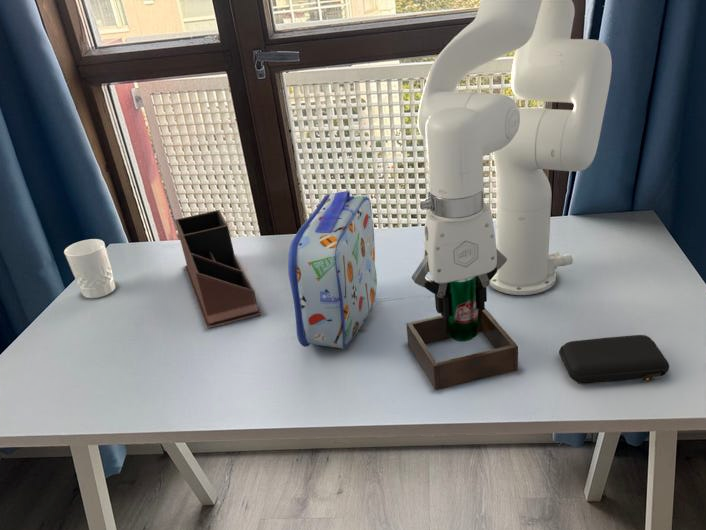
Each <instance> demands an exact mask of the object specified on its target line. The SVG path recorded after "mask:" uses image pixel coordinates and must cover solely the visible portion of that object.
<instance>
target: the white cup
mask: <svg viewBox="0 0 706 530" xmlns="http://www.w3.org/2000/svg"><path fill="white" fill-rule="evenodd" d="M63 254H64V256H65V258H66V261H67V263H68V265H69V268H70V270H71V273H72V275H73V277H74V280H75V281H76V284H77V285H78V287H79V290H80V292H81V295H82V296H83V297H84V298H86V299H99V298H103V297H105V296H107V295H109V294H112V293H113V292H114V291H115V290H116V283H115V279H114V273H113V270H112V265H111V262H110V258H109V254H108V251H107V247H106V244H105V241H103V240H102V239H99V238H90V239H84V240H80V241H77V242H74V243H72V244H70V245H68V246H67V247H66V248H65V249H64V251H63Z"/></svg>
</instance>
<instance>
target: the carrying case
mask: <svg viewBox="0 0 706 530" xmlns="http://www.w3.org/2000/svg"><path fill="white" fill-rule="evenodd" d="M558 350H559V351H558V354H559V356H560V357H559V358H560V359H561V361H562V363H563V365H564V368H565V371H566V372H567V375H568V377H569V378H570V379H572V380H573V381H574V382H575V383H577V384H579V385H589V384H590V385H591V384H604V383H615V382H625V381H627V382H628V381H637V380H642V382H643V383H646V382H651V381H653V380H656V379H661V378H662V377H663V376H665V375H666V374H667V373H668V372H669V371H670V364H669V361H668V360H667V359H666V357H665V355H664V354H663V353H662V351H661V350H660V348H659V347H658V345H657V344H656V342H655V341H654V339H652V338H651V337H650V336H648V335H647V334H634V335H633V334H632V335H622V336H610V337H600V338H589V339H581V340H571V341H568V342H566V343H564V344H563V345H562V346H561V347H560V348H559V349H558Z"/></svg>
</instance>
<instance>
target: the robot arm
mask: <svg viewBox="0 0 706 530" xmlns="http://www.w3.org/2000/svg"><path fill="white" fill-rule="evenodd" d="M477 9H478V10H477V13H476V16H475V17H474V19H473V20H472V21H471V22H470V23H469V24H468V25H466V27H464V28H463V29H462V30H461V31H460V32H459V33H457V35H455V36H454V37H453V38H452V39H451V40H450V41H449V43H447V45H446V46H445V47H444V48H443V49H442V50H441V51H440V53H439V54H438V55H437V56H436V58H435V59H434V61H433V63H432V65H431V66H430V69H429V71H428V74H427V77H426V80H425V82H424V83H425V84H424V86H423V91H422V94H421V98H420V102H419V107H418V112H417V129H418V132H419V135H420V137H421V138H422V139H423V141H425V143H426V155H427V157H426V158H427V173H428V174H427V175H428V188H429V191H427V194H428V195H427V198H425V199H423V200H420V204H419V205H420V209H421V210H422V211H425V210H426V216H425V222H424V230H423V259H422V260H421V262H420V263H419V265H418V267H417V268H416V270H415V271H414V272H413V274H412V276H411V279H412V281H413V282H414V283H415V284H416V285H418V286H420V287H422V288H425V289H426V290H427V291H429V292H430V293H432V294H433V295H434V302H435V303H434V304H435V311H436V312H437V314H440V316H441V315H442V316H443V318H444V319H445V320H446V319H449V298H448V296H447V295H446V288H447V284H448V282H453V281H457V280H462V279H466V278H470V277H474V276H477V295H478V309H479V310H481V311H483V310H485V308H486V306H485V303H487V301H488V295H487V294H488V291H487V288H488V287H489V286H490V287H491V288H493V290H496V291H498V292H500V293H502V294H508V295H512V296H531V295H537V294H540V293H543V292H546V291H547V290H549V289H551V288H552V287H553V286H554V285H555V284H556V282H557V272H556V271H555V270H558V267H565V266H568V265H572V264H573V262H574V260H573V256H572V255H571V253H568V254H564V255H560V252H559V251H554V252H550V237H551V235H550V234H551V233H550V232H551V215H552V214H551V213H552V194H553V193H552V187H551V183H550V181H549V179H548V176H547V175H546V173H545V172H544V170H550V171H561V172H582V171H585V170H586V169H588V168H589V167H590V166H591V165H592V164H593V162H594V160H595V157H596V154H597V150H598V146H599V142H600V137H601V132H602V127H603V121H604V116H605V111H606V105H607V101H608V95H609V90H610V86H611V80H612V79H611V78H612V71H613V70H612V69H613V67H612V66H613V60H612V53H611V51H610V47H608V45H607V44H606V43H605V42H603V41H601V40H598V39H589V38H571V36H572V31H573V25H574V18H575V14H576V11H575V10H576V9H575V5H574V2H573V0H480V2H479V6H478V8H477ZM512 52H514V55H513V61H512V67H511V73H510V75H511V76H510V87H511V91H512V93H513V94H514V96H516V97H517V98H519V99H521V100H525V101H531V102H544V103H545V102H547V103H568V104H572V105H573V109H558V108H557V109H553V108H542V107H519V106H518V104H517V102H516V101H515V100H514V98H513V97H511V96H508V95H506V94H502V93H494V92H493V93H491V92H476V91H475V92H474V91H456V89H457V87H458V85H459V84H460V83H461V82H462V80H463V79H464V78H465V77H467V76H468V75H469V74H470V73H471V72H473V71H474V70H477V69H478V68H480V67H481V66H483V65H486V64H488V63H490V62H493V61H495V60H497V59H499V58H502V57H504V56H506V55H508V54H510V53H512ZM489 154H492V157H493V163H494V171H495V184H496V185H495V186H496V187H495V188H496V193H495V194H496V197H495V198H496V200H495V201H496V202H495V205H496V206H495V209H496V213H495V217H496V218H495V227H494V220H493V214H492V211H491V207H490V206H489V204H486V203H485V194H484V193H485V190H484V187H485V186H484V157H485V156H487V155H489ZM428 273H429V275H430V277H429V278H428V277H426V276H427V275H428ZM430 278H431V279H430Z"/></svg>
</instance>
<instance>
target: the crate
mask: <svg viewBox="0 0 706 530" xmlns="http://www.w3.org/2000/svg"><path fill="white" fill-rule="evenodd" d="M405 325H406V337H407V346H408V348H409V350H410V352H411V353H412V355H413V356H414V358H415V360H416V361H417V363H418V365H419V366H420V368H421V370H422V371H423V373H424V374H425V376H426V378H427V380H428V381H429V383H430V384H431V386H432V387H433V389H434V391H439V390H443V389H447V388H451V387H456V386H459V385H464V384H467V383H471V382H476V381H480V380H484V379H488V378H493V377H496V376H501V375H505V374H509V373H510V374H511V373H514V372H517V371H518V370H519V345H518V344H517V343H516V342H515V341H514V340H513V338H512V337H511V336H510V335H509V333H507V331H506V330H505V329H504V328H503V327H502V326H501V324H500V323H499V322H498V321H497V320H496V319H495V317H494V316H493V315H492V314H491V313H490V312H489V310H488V309H487V308H486V307H485V310H483V311H481V310H479V309H478V333H481V334H482V335H483V336H484V337H485V339H486V340H487V341H488V342H489V343H490V345H491V346H492V347H493V348H494V349H488V350H485V351H481V352H476V353H471V354H468V355H463V356H460V357H455V358H450V359H446V360H442V361H438V362H437V360H436V359H435V357H434V356H433V354H432V353H431V351H430V350H429V348H428V347H427V345H429V344H435V343H438V342H443V341H447V340H452V339H451V338H450V337H449V336H448V335H447V333H446V320H445V319H444V318H443V316H442V315H441V314H440V315H435V316H432V317H428V318H423V319H419V320H414V321H411V322H406V324H405Z"/></svg>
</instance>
